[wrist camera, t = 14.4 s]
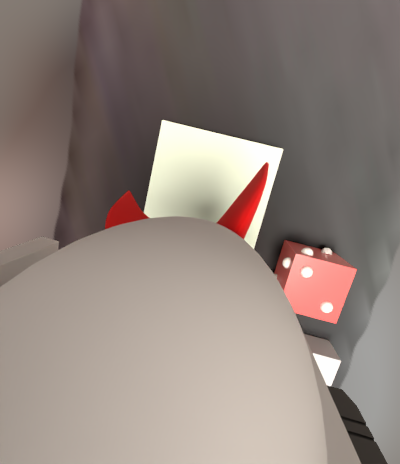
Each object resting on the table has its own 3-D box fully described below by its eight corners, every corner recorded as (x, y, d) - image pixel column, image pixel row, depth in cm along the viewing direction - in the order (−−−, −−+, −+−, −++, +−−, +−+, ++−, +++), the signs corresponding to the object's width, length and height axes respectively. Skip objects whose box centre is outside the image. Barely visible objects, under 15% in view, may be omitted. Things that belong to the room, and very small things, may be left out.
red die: (318, 298, 35) (338, 326, 29) (265, 284, 35) (273, 309, 29) (336, 247, 34) (361, 265, 27) (281, 233, 34) (293, 247, 27)
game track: (219, 357, 38) (218, 369, 36) (125, 331, 39) (117, 341, 36) (279, 150, 32) (283, 149, 30) (167, 123, 33) (162, 119, 30)
